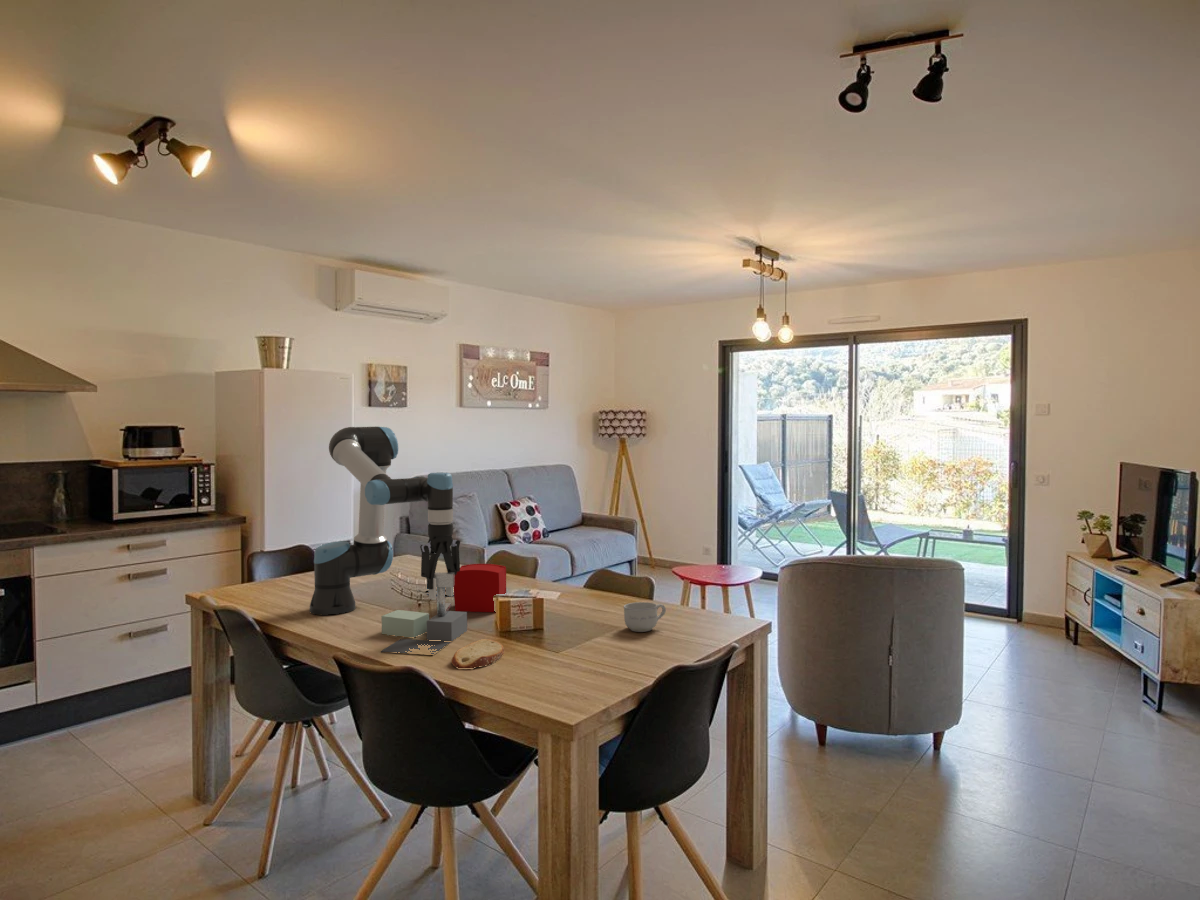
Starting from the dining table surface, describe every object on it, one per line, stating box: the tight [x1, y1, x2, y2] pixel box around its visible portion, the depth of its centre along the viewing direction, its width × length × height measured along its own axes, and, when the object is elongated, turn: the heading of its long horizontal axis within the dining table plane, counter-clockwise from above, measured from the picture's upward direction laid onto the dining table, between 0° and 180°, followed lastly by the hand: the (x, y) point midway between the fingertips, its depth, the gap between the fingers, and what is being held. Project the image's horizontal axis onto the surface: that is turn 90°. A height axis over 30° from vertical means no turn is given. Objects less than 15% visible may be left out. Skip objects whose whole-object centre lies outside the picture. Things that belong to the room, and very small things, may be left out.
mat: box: [380, 638, 451, 654], centre depth 208 cm, size 16×12×1 cm
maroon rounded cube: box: [453, 563, 507, 613], centre depth 252 cm, size 16×11×15 cm
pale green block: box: [381, 609, 430, 638], centre depth 223 cm, size 12×8×6 cm, turn 68°
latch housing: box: [426, 610, 468, 642], centre depth 220 cm, size 8×12×6 cm, turn 168°
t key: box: [434, 572, 455, 616], centre depth 224 cm, size 11×8×13 cm
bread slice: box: [451, 638, 505, 668], centre depth 200 cm, size 18×18×4 cm
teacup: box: [623, 601, 667, 633], centre depth 226 cm, size 14×11×8 cm
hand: (441, 597), depth 220 cm, fingers closed on t key, 6 cm apart
